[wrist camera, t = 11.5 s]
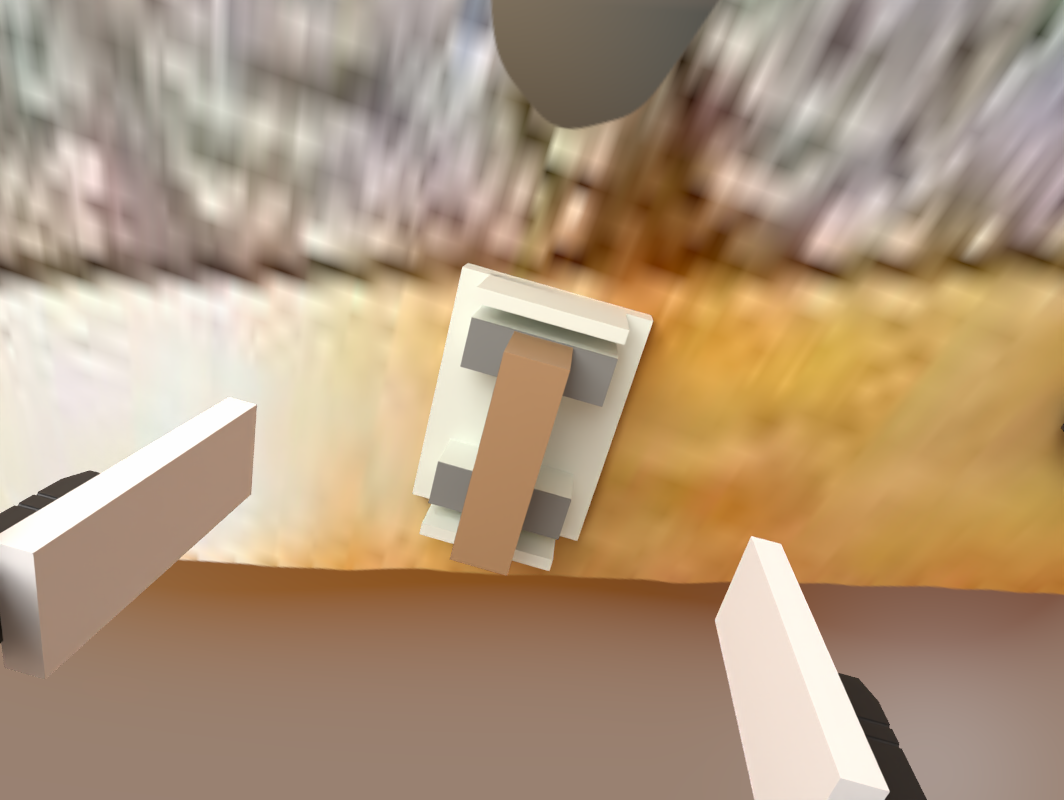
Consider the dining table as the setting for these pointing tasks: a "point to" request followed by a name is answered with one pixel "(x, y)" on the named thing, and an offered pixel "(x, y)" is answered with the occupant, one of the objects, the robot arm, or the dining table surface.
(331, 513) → the dining table surface
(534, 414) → the tan wooden plank
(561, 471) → the stand
